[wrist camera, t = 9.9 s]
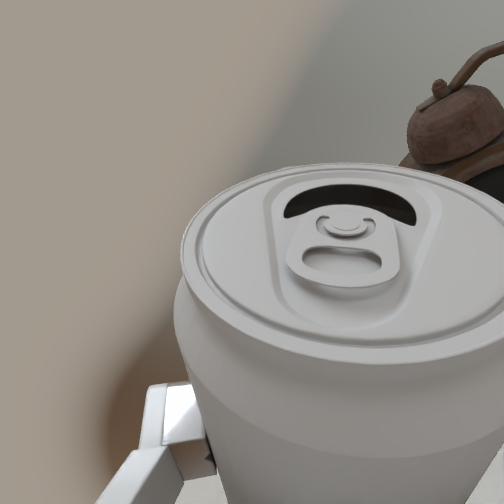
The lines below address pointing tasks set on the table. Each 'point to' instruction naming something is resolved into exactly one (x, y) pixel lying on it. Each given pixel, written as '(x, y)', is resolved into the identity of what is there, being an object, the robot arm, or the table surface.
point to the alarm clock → (461, 131)
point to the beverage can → (346, 334)
